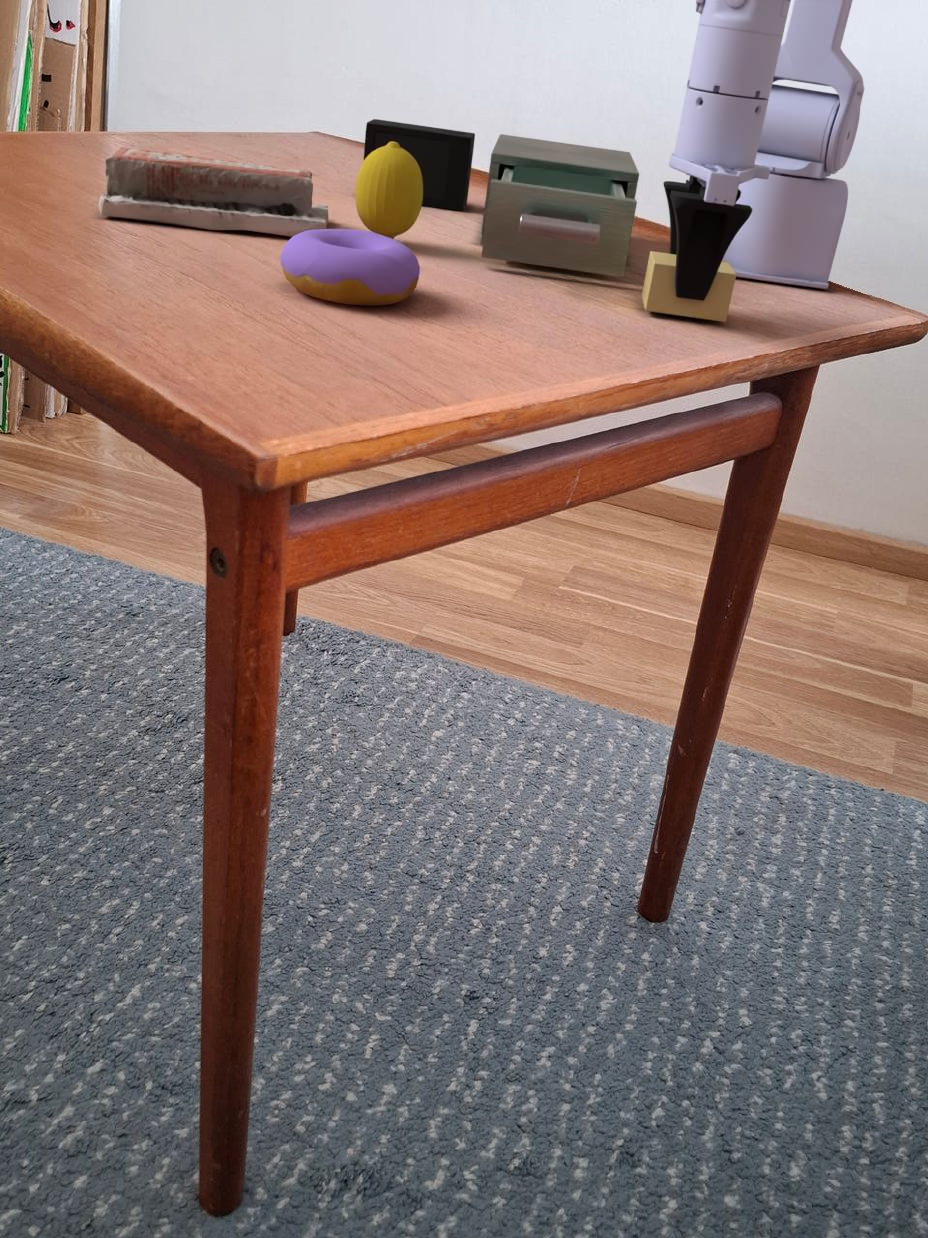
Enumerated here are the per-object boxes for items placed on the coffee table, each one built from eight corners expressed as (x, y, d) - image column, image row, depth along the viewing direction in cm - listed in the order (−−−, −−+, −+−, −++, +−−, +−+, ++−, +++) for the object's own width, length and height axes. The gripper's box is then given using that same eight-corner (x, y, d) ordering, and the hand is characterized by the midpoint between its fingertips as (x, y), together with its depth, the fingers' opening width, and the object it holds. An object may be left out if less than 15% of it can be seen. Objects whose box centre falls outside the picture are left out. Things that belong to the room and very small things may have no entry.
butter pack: (718, 307, 92) (729, 261, 90) (725, 322, 88) (736, 274, 86) (641, 297, 92) (650, 250, 90) (644, 310, 88) (654, 262, 86)
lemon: (408, 254, 97) (419, 149, 93) (343, 243, 98) (351, 139, 94) (424, 243, 102) (434, 143, 98) (361, 232, 103) (369, 133, 99)
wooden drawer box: (622, 264, 104) (639, 173, 101) (479, 244, 104) (491, 152, 101) (615, 233, 118) (630, 151, 115) (489, 215, 118) (499, 133, 115)
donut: (249, 271, 83) (265, 200, 82) (356, 293, 89) (373, 228, 88) (324, 309, 77) (343, 233, 75) (435, 330, 83) (454, 260, 81)
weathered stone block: (95, 153, 92) (118, 137, 101) (96, 218, 94) (119, 197, 103) (329, 180, 94) (332, 162, 103) (325, 243, 97) (328, 220, 105)
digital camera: (469, 203, 123) (477, 131, 120) (463, 211, 119) (472, 136, 115) (369, 189, 124) (375, 116, 120) (360, 196, 119) (366, 121, 116)
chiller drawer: (626, 290, 91) (641, 211, 88) (477, 269, 91) (487, 189, 88) (616, 243, 108) (628, 176, 105) (490, 226, 108) (499, 158, 105)
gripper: (803, 109, 76) (753, 321, 83) (768, 93, 89) (728, 277, 96) (694, 94, 76) (652, 307, 83) (675, 80, 89) (640, 265, 96)
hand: (686, 290), depth 89 cm, fingers closed on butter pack, 4 cm apart
